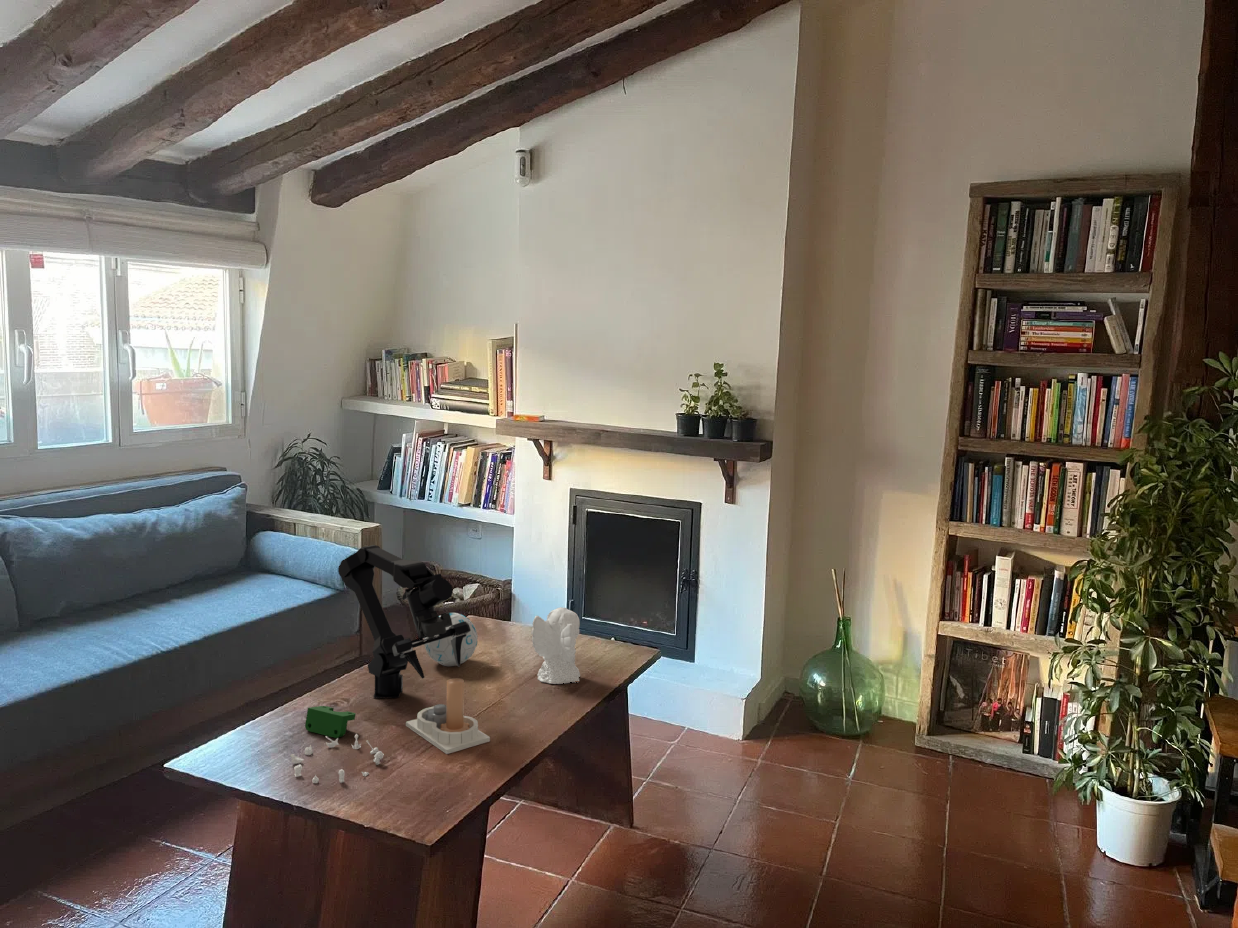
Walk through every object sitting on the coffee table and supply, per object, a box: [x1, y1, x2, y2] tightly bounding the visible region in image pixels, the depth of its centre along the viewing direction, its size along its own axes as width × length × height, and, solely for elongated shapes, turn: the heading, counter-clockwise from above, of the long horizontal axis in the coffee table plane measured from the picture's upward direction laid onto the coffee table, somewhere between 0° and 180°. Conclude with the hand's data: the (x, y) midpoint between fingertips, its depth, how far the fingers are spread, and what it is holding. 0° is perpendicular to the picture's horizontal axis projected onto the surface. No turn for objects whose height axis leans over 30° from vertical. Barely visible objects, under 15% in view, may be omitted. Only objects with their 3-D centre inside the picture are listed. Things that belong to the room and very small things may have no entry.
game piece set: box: [289, 733, 385, 784], centre depth 207 cm, size 19×20×4 cm
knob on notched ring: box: [440, 677, 469, 732], centre depth 221 cm, size 7×7×13 cm
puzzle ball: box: [423, 612, 478, 667], centre depth 269 cm, size 15×15×15 cm
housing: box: [405, 703, 491, 755], centre depth 224 cm, size 19×12×6 cm, turn 41°
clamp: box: [304, 705, 356, 739], centre depth 223 cm, size 11×6×8 cm, turn 61°
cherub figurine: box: [531, 606, 581, 685], centre depth 260 cm, size 13×12×20 cm
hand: (441, 672), depth 231 cm, fingers open, 9 cm apart
